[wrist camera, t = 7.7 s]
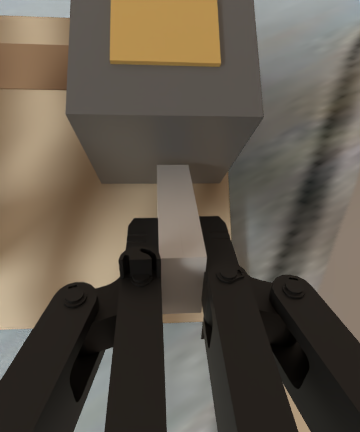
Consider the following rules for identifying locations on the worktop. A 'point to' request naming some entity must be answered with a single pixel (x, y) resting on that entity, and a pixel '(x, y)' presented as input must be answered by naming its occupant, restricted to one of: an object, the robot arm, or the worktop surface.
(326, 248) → the worktop surface
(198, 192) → the birch board
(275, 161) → the worktop surface
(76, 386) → the robot arm
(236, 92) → the grey box with label
